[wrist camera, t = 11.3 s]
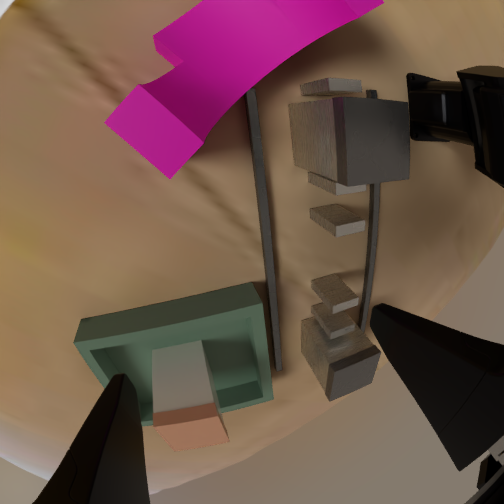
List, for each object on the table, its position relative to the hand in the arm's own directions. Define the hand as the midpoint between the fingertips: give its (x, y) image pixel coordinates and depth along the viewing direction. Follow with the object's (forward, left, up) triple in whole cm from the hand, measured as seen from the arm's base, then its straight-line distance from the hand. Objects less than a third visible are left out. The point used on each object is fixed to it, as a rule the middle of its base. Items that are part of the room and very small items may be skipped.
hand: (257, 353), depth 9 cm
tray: (+5, +12, -12) cm, 18 cm away
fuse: (+5, +12, -12) cm, 18 cm away
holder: (-9, +4, -12) cm, 16 cm away
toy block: (-3, -12, -13) cm, 18 cm away
